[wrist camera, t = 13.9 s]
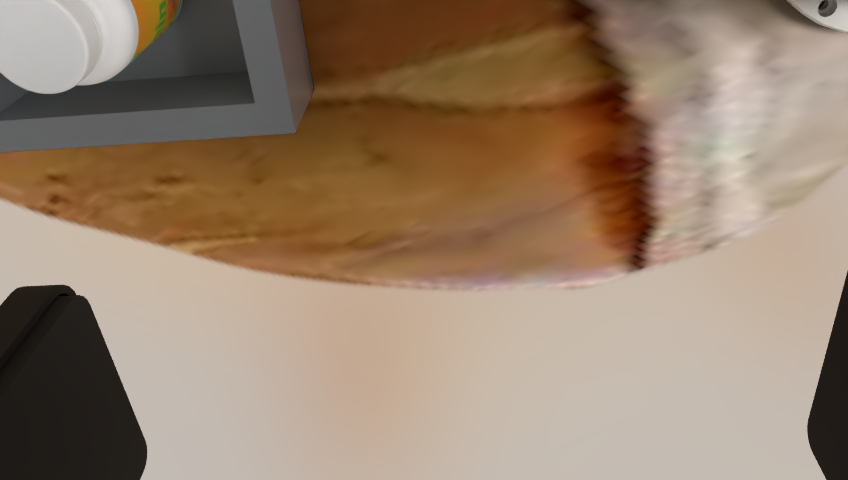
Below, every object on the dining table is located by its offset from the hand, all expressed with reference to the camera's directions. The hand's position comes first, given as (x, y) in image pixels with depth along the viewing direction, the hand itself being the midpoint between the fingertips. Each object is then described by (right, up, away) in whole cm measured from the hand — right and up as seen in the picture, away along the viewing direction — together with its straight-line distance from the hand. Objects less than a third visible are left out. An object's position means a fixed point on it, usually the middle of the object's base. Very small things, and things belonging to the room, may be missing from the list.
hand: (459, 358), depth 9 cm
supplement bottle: (-15, +14, +26) cm, 33 cm away
